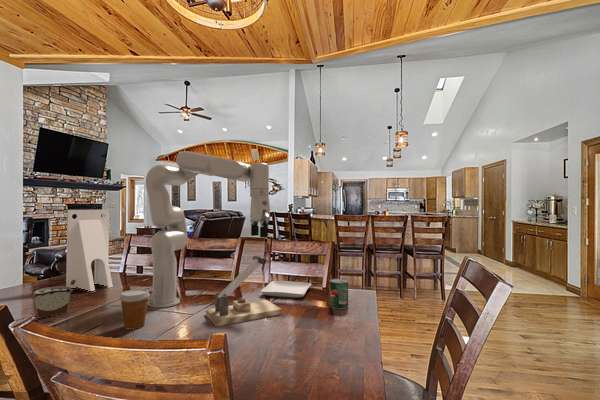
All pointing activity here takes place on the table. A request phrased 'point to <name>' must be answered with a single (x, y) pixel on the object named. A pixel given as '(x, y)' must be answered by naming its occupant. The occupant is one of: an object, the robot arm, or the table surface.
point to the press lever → (243, 275)
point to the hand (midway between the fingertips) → (259, 236)
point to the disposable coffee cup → (134, 307)
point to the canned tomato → (339, 293)
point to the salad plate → (286, 289)
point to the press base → (244, 316)
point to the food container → (52, 300)
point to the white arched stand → (88, 249)
